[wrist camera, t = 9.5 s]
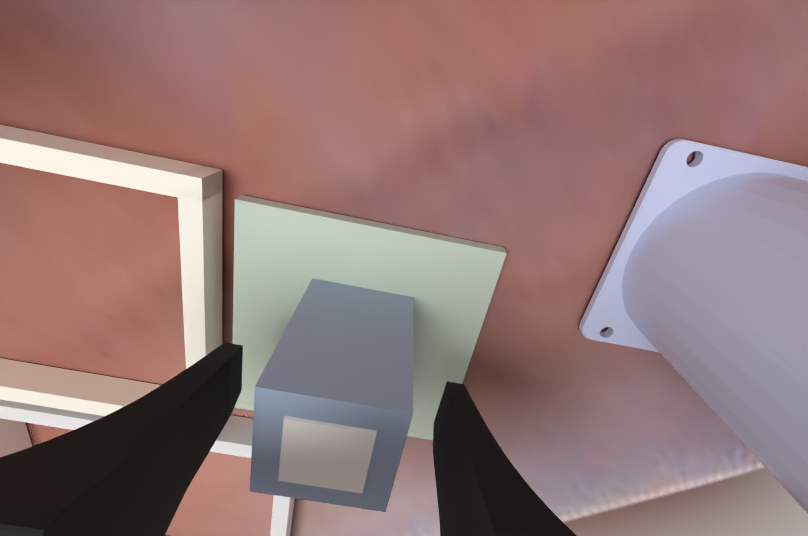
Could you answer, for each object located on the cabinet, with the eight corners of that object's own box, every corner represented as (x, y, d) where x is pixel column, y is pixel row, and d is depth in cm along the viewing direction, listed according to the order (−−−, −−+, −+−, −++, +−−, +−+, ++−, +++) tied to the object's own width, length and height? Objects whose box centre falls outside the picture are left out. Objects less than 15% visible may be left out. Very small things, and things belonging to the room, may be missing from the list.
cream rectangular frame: (222, 169, 14) (201, 178, 13) (222, 407, 19) (206, 432, 17) (-217, 80, 13) (-291, 79, 12) (-98, 354, 18) (-141, 376, 17)
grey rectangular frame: (303, 427, 19) (295, 452, 18) (287, 561, 24) (279, 589, 23) (-5, 376, 18) (-39, 399, 17) (42, 526, 23) (18, 553, 22)
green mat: (503, 247, 15) (506, 253, 14) (441, 432, 19) (442, 442, 19) (241, 194, 14) (234, 199, 14) (236, 397, 19) (231, 407, 18)
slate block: (413, 297, 15) (413, 416, 10) (394, 375, 17) (384, 515, 11) (312, 278, 15) (253, 389, 10) (303, 359, 17) (248, 494, 11)
